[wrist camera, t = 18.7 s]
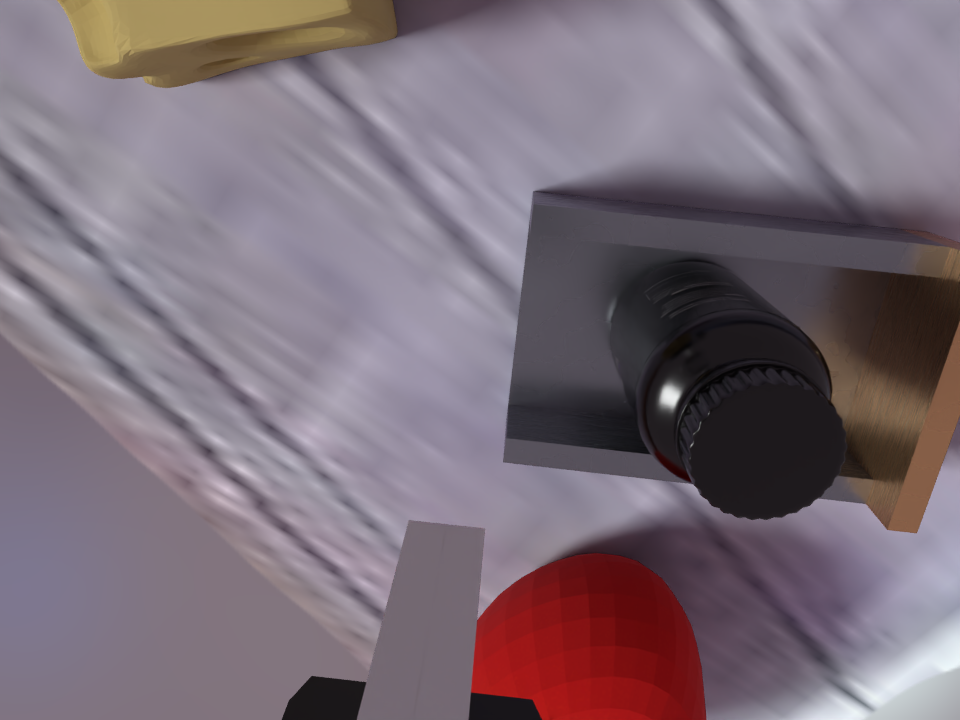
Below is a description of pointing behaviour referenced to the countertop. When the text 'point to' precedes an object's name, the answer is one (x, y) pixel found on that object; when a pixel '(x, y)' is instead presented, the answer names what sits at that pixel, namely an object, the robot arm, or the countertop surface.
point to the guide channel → (783, 283)
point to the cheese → (216, 34)
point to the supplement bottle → (727, 391)
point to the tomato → (591, 644)
